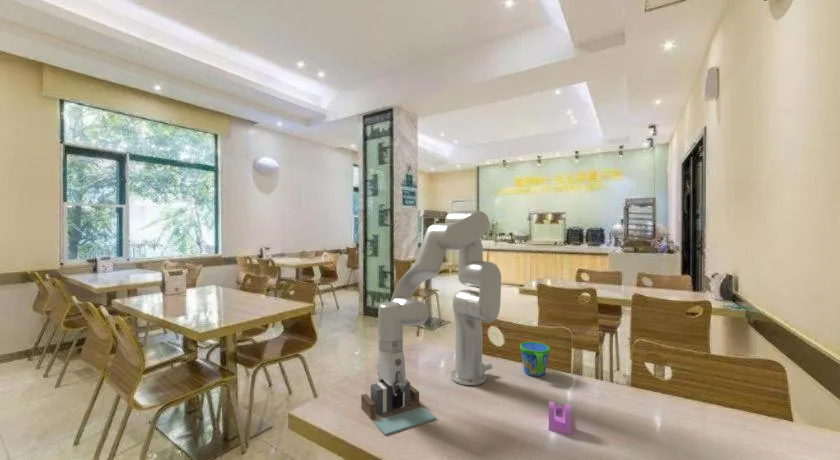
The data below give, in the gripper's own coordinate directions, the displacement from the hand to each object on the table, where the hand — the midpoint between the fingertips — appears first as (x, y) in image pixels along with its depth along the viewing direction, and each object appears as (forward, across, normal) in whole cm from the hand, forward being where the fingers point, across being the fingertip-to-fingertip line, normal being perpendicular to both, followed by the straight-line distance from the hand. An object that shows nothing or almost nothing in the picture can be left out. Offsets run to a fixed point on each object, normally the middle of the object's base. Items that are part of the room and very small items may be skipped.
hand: (390, 400), depth 111 cm
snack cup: (+2, -5, -57) cm, 57 cm away
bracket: (+2, -31, -38) cm, 49 cm away
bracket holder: (+2, 0, 0) cm, 2 cm away
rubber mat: (+2, -10, 0) cm, 10 cm away
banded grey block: (+2, 0, 0) cm, 2 cm away
